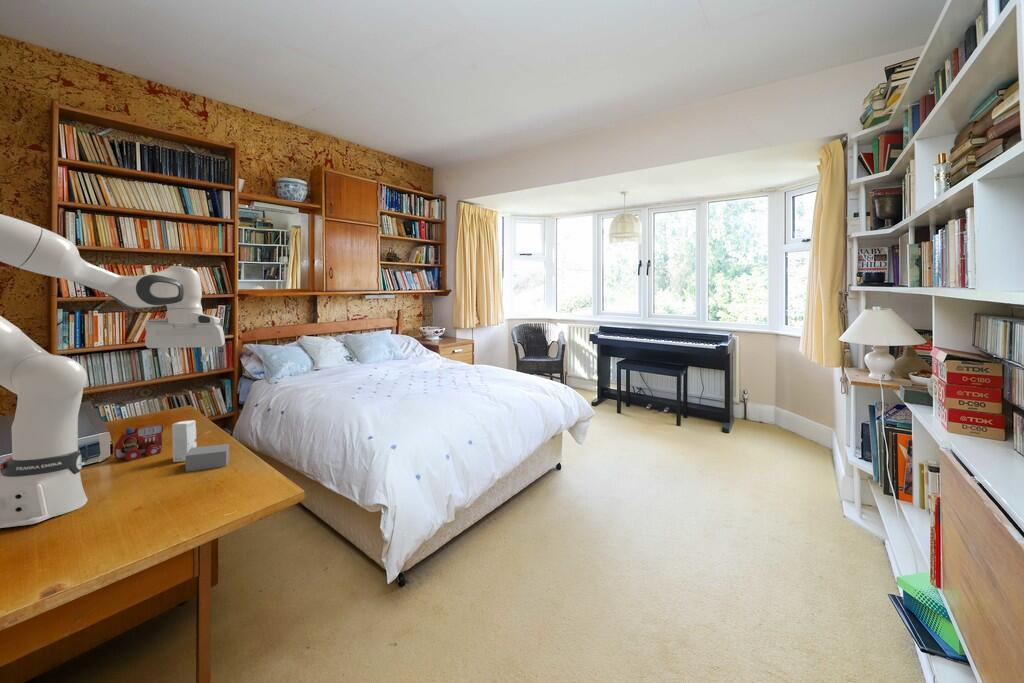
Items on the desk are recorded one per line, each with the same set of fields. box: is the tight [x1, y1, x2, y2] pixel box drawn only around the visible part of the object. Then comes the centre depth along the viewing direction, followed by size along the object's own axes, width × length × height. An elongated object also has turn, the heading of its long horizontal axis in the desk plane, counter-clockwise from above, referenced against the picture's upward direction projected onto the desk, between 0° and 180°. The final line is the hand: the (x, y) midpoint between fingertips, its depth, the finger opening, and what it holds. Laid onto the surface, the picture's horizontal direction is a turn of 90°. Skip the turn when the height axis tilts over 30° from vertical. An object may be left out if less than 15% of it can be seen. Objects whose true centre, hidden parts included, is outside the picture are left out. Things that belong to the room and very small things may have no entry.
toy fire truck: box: [113, 423, 164, 462], centre depth 139 cm, size 7×12×10 cm, turn 146°
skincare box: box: [171, 419, 198, 463], centre depth 137 cm, size 6×4×12 cm
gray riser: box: [185, 443, 230, 473], centre depth 132 cm, size 10×10×5 cm
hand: (186, 362), depth 134 cm, fingers open, 8 cm apart
